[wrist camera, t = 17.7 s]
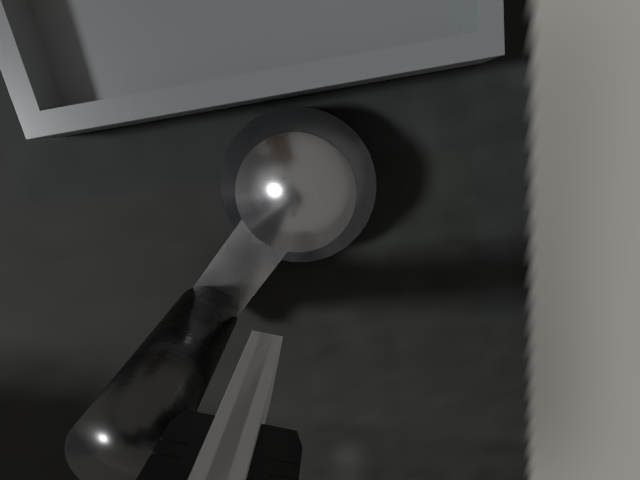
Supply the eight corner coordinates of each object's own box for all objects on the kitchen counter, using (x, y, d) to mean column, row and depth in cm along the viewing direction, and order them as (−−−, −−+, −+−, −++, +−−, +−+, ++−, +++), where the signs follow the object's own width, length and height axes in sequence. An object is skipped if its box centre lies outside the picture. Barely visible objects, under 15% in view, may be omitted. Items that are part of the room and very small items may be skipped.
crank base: (105, 140, 19) (80, 143, 17) (361, 96, 18) (366, 93, 16) (168, 341, 22) (153, 362, 20) (388, 310, 21) (394, 329, 20)
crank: (284, 106, 16) (236, 89, 8) (377, 178, 17) (429, 238, 8) (147, 305, 19) (-1, 457, 10) (233, 359, 20) (161, 543, 11)
